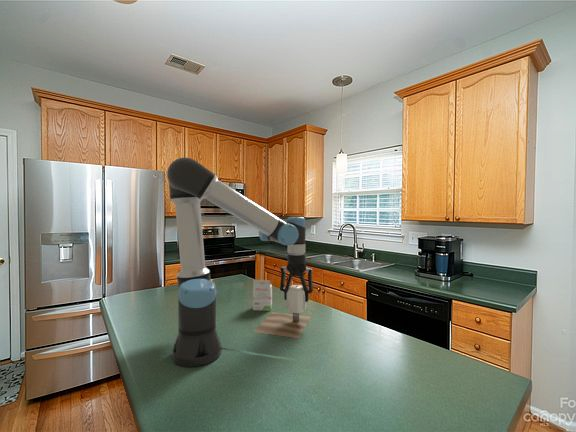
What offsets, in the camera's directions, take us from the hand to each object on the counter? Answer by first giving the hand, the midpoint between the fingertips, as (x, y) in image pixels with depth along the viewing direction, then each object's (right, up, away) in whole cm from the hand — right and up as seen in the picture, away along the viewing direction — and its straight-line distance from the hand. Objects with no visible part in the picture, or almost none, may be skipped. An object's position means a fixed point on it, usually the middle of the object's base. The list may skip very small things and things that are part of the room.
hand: (296, 308), depth 119 cm
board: (-5, -6, -3) cm, 8 cm away
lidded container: (0, -1, 0) cm, 1 cm away
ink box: (-16, -6, +15) cm, 22 cm away
